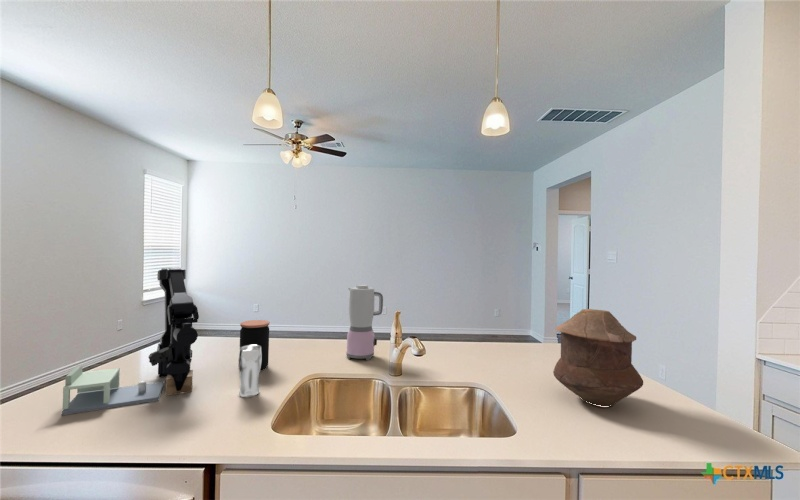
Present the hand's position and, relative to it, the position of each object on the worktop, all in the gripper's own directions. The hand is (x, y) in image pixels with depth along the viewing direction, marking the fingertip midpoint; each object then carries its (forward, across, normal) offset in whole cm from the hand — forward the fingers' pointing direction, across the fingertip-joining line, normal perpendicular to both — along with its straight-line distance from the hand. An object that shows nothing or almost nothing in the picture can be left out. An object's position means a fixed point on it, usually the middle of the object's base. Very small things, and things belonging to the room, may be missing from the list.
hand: (179, 386), depth 115 cm
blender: (+1, -8, +69) cm, 69 cm away
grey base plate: (+1, 0, -16) cm, 16 cm away
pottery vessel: (+1, +66, +120) cm, 137 cm away
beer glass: (+1, +13, +20) cm, 24 cm away
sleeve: (+1, 0, 0) cm, 1 cm away
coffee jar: (+1, -12, +24) cm, 27 cm away
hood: (0, 0, -22) cm, 22 cm away
